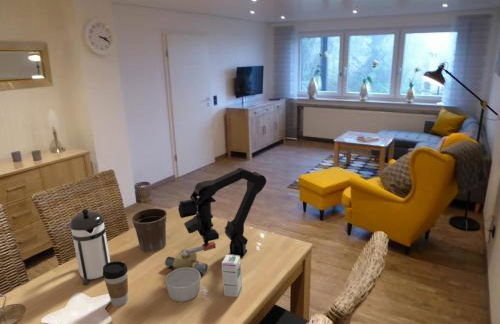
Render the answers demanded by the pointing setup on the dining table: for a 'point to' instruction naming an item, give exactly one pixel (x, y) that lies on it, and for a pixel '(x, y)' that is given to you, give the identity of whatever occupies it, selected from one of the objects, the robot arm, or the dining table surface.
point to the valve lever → (198, 249)
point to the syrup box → (231, 275)
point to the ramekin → (183, 284)
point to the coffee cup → (116, 282)
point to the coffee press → (90, 244)
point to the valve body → (186, 263)
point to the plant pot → (150, 228)
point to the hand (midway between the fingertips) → (206, 244)
